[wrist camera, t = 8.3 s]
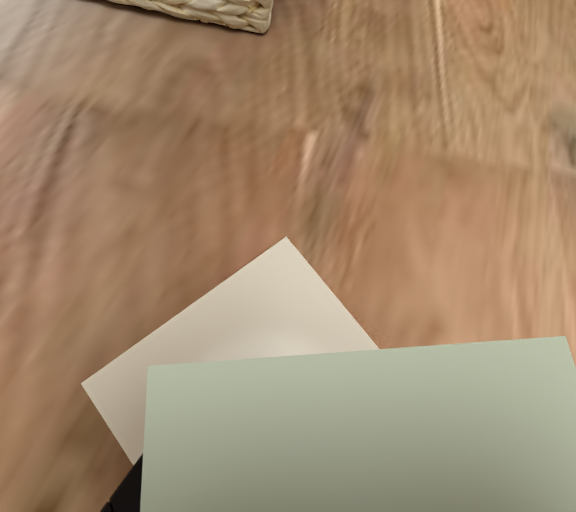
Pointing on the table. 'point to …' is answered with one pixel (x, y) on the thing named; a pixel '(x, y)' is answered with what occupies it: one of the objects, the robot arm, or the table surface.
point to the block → (366, 431)
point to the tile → (230, 334)
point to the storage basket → (214, 11)
